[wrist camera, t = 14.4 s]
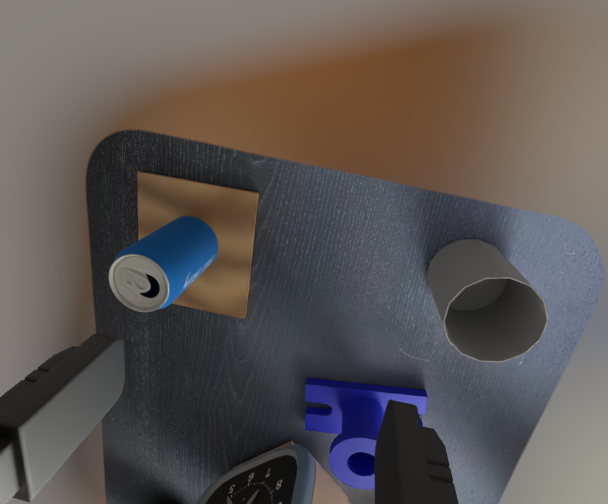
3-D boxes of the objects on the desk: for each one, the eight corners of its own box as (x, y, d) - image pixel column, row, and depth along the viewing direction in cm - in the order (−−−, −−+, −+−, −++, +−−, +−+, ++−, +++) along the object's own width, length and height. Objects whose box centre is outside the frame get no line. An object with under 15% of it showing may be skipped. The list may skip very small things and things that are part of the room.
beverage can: (210, 275, 46) (161, 327, 35) (161, 251, 46) (97, 297, 35) (228, 229, 44) (182, 270, 33) (177, 204, 44) (113, 237, 33)
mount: (425, 390, 48) (438, 446, 40) (419, 436, 51) (429, 498, 43) (307, 377, 50) (295, 429, 42) (306, 422, 53) (295, 479, 45)
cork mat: (140, 170, 44) (137, 171, 43) (259, 192, 43) (257, 193, 42) (141, 294, 50) (138, 296, 49) (246, 316, 48) (244, 319, 48)
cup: (469, 321, 44) (497, 378, 35) (411, 282, 43) (423, 329, 34) (524, 267, 41) (571, 313, 32) (462, 223, 40) (491, 257, 31)
